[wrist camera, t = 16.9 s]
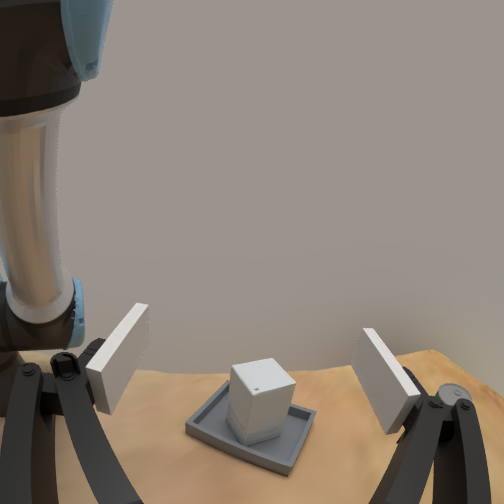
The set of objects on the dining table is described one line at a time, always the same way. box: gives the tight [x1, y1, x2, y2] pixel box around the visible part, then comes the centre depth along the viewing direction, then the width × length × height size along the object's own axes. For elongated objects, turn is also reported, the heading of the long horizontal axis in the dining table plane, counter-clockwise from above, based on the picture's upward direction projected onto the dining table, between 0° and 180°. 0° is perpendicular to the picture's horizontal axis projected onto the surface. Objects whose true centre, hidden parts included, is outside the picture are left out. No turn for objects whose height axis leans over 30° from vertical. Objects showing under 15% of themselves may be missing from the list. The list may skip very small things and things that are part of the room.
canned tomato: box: [435, 383, 472, 405], centre depth 36 cm, size 8×8×11 cm
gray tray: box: [185, 380, 317, 477], centre depth 41 cm, size 18×14×3 cm
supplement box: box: [226, 358, 296, 446], centre depth 40 cm, size 7×7×13 cm
